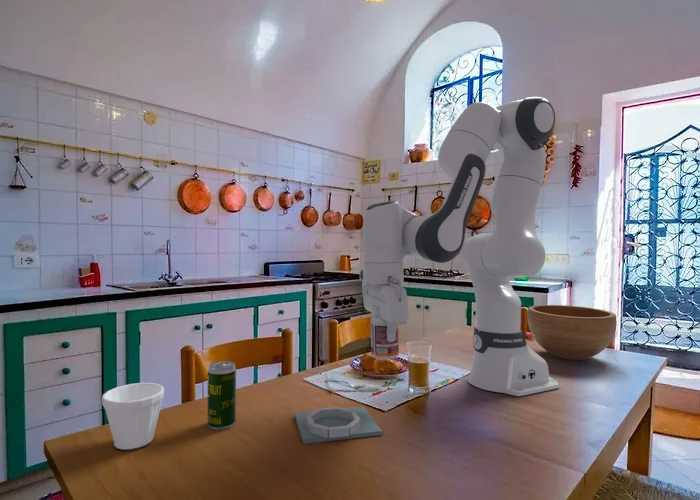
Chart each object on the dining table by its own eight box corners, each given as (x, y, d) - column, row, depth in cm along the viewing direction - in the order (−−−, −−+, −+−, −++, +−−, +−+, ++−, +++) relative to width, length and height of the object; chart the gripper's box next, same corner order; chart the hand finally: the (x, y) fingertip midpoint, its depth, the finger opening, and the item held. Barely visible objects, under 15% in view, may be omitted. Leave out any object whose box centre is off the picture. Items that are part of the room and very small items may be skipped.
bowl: (515, 347, 149) (516, 304, 148) (588, 348, 148) (590, 305, 147) (545, 369, 124) (546, 317, 123) (633, 371, 123) (635, 319, 122)
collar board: (363, 410, 93) (363, 399, 93) (382, 436, 81) (383, 424, 81) (294, 416, 89) (294, 405, 89) (303, 445, 77) (303, 432, 77)
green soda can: (220, 417, 88) (220, 359, 88) (241, 422, 86) (241, 363, 86) (201, 427, 83) (201, 366, 83) (223, 433, 81) (223, 370, 81)
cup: (94, 460, 71) (94, 405, 70) (110, 433, 80) (109, 384, 80) (160, 452, 73) (160, 399, 73) (167, 427, 83) (167, 380, 83)
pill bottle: (404, 356, 94) (403, 306, 94) (382, 362, 91) (381, 309, 91) (387, 350, 100) (386, 302, 99) (365, 355, 96) (364, 305, 96)
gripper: (415, 278, 85) (416, 347, 86) (382, 270, 105) (383, 326, 106) (385, 280, 84) (387, 350, 84) (357, 271, 103) (358, 328, 104)
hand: (384, 336), depth 95 cm, fingers closed on pill bottle, 6 cm apart
